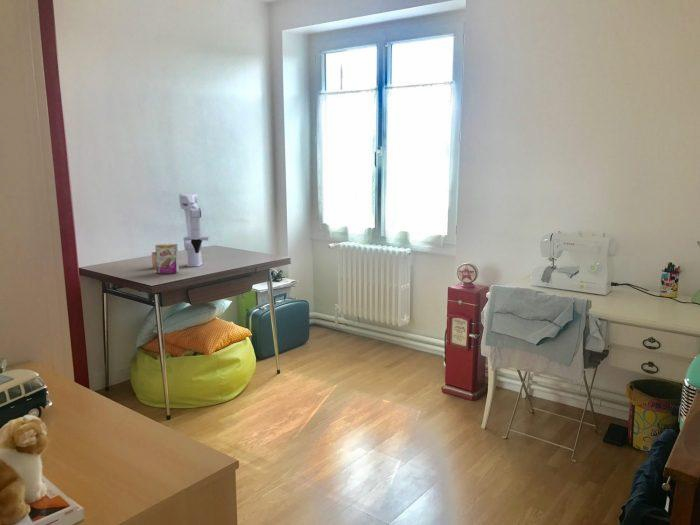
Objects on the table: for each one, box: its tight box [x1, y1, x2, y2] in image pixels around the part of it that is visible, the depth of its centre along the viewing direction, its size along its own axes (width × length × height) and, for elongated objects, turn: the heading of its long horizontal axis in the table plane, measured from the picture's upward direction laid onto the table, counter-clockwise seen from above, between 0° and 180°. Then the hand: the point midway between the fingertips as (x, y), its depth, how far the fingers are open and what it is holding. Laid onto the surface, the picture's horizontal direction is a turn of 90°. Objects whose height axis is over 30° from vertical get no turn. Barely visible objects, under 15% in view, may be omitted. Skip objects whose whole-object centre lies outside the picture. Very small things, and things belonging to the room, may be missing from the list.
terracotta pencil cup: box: [151, 251, 157, 270], centre depth 331 cm, size 7×7×9 cm
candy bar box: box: [154, 243, 180, 275], centre depth 316 cm, size 11×5×16 cm, turn 92°
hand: (197, 252), depth 321 cm, fingers closed
